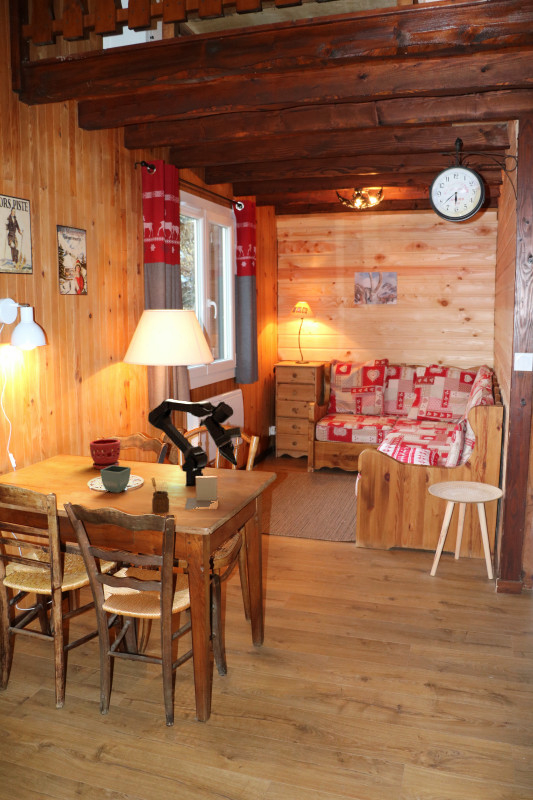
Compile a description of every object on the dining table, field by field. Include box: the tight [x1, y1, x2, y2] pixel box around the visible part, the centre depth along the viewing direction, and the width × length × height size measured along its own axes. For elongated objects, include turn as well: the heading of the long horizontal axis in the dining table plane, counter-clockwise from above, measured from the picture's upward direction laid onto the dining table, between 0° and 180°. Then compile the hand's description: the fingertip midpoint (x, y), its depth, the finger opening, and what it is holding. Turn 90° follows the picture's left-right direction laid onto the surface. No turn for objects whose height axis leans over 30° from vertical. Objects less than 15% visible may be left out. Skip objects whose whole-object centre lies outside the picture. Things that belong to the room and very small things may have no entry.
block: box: [195, 475, 218, 501], centre depth 249 cm, size 8×2×9 cm, turn 93°
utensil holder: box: [151, 477, 170, 514], centre depth 236 cm, size 6×6×12 cm
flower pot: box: [99, 465, 132, 494], centre depth 261 cm, size 9×9×9 cm
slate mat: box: [184, 497, 214, 511], centre depth 246 cm, size 12×14×1 cm
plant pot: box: [89, 438, 121, 470], centre depth 297 cm, size 13×13×12 cm
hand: (235, 463), depth 258 cm, fingers open, 9 cm apart
